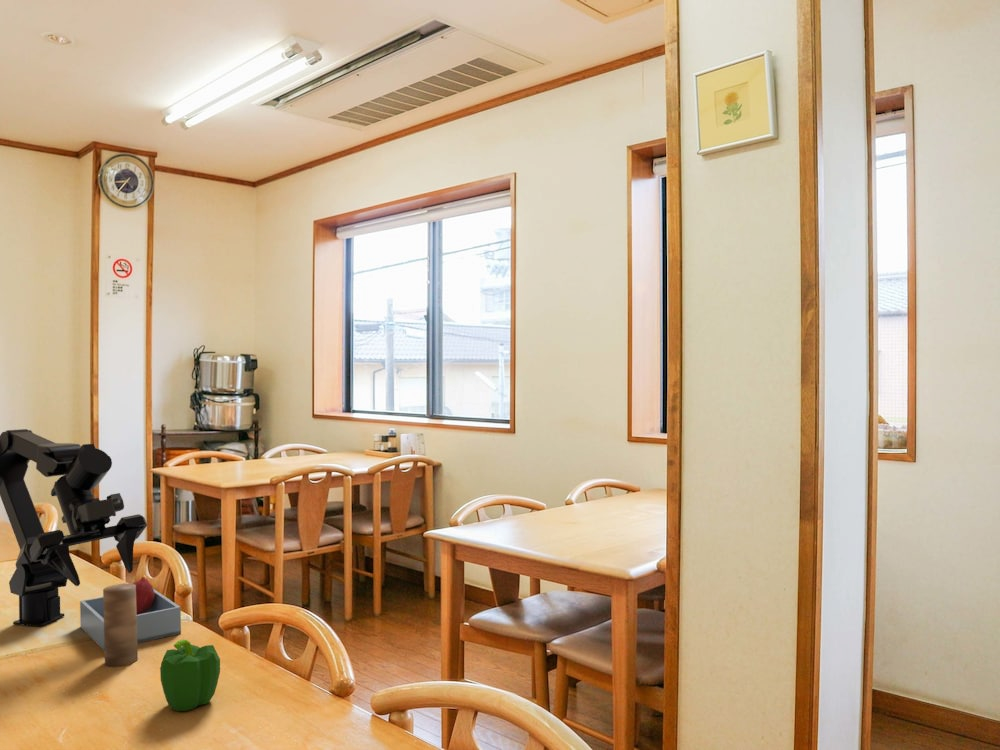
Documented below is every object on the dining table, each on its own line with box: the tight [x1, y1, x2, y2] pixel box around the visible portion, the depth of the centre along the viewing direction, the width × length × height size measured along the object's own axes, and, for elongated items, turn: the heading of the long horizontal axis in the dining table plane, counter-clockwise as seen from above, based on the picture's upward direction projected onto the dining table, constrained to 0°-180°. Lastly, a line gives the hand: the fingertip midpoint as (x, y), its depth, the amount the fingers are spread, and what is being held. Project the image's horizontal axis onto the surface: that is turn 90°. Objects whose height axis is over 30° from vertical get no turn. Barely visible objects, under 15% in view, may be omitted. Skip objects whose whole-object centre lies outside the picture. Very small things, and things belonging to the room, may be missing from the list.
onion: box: [132, 575, 155, 615], centre depth 154 cm, size 6×6×8 cm
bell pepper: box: [159, 639, 221, 712], centre depth 115 cm, size 8×8×10 cm
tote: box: [79, 588, 182, 652], centre depth 148 cm, size 17×13×5 cm
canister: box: [102, 583, 139, 668], centre depth 132 cm, size 5×5×12 cm
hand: (105, 578), depth 139 cm, fingers open, 9 cm apart
